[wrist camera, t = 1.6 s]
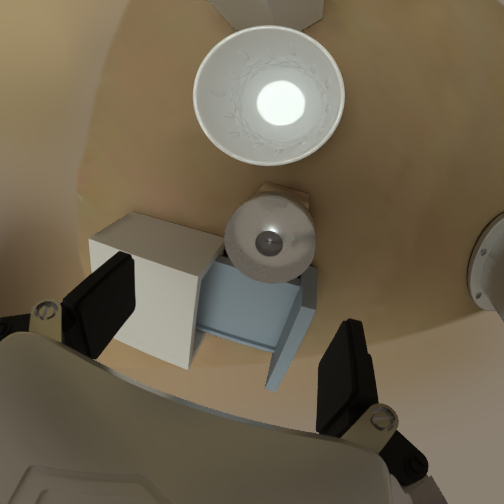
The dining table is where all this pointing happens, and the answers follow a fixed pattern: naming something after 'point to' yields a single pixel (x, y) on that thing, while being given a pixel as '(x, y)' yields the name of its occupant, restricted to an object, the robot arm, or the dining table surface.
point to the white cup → (268, 95)
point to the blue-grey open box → (258, 312)
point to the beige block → (295, 193)
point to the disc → (271, 237)
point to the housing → (161, 282)
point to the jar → (270, 12)
